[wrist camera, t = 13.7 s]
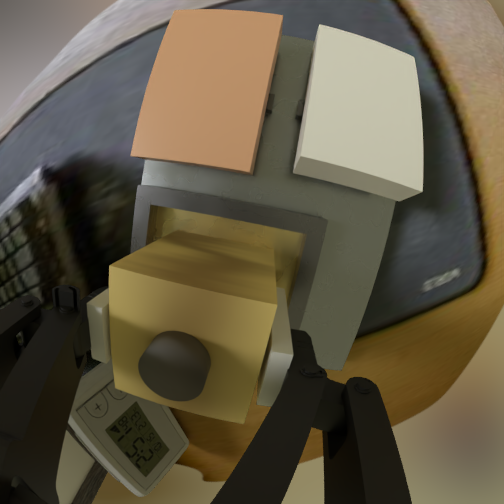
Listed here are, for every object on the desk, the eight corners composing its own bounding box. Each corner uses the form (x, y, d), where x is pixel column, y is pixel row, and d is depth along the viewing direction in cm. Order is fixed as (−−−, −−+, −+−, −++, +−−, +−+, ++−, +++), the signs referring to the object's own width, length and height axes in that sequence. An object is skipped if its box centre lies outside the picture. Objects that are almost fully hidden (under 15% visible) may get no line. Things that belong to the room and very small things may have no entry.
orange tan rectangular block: (149, 160, 14) (130, 155, 12) (185, 29, 13) (174, 10, 10) (252, 175, 14) (249, 172, 12) (281, 36, 12) (283, 15, 10)
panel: (141, 321, 21) (122, 343, 17) (188, 40, 16) (174, 17, 12) (334, 360, 21) (343, 387, 17) (399, 82, 15) (420, 66, 12)
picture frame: (113, 460, 27) (64, 559, 7) (104, 459, 28) (55, 554, 7) (47, 378, 24) (-43, 478, 4) (40, 378, 25) (-47, 473, 4)
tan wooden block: (168, 315, 18) (104, 403, 9) (177, 229, 17) (90, 275, 8) (253, 335, 18) (241, 444, 9) (273, 249, 17) (278, 321, 8)
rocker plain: (292, 173, 13) (300, 155, 11) (312, 48, 13) (319, 24, 11) (399, 201, 13) (422, 192, 11) (399, 76, 13) (414, 57, 11)
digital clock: (193, 443, 24) (175, 507, 16) (132, 432, 25) (104, 487, 16) (166, 343, 21) (120, 418, 12) (93, 335, 22) (37, 390, 13)
